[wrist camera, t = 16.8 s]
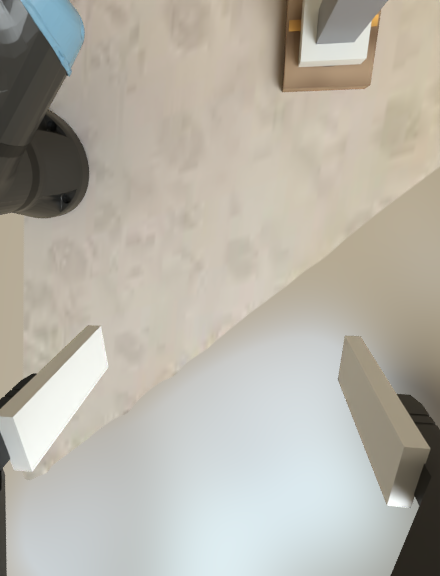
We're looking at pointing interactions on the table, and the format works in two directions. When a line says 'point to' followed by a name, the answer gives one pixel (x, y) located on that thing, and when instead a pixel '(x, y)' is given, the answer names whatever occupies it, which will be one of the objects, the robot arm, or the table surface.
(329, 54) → the slider
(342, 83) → the board
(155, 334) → the table surface
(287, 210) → the table surface
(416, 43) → the table surface
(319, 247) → the table surface
